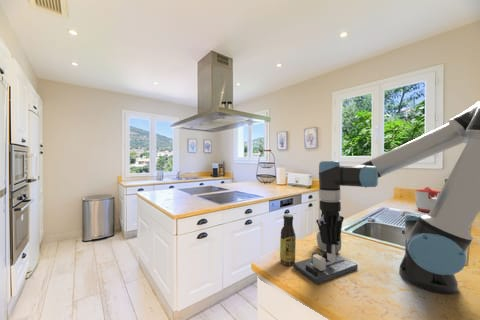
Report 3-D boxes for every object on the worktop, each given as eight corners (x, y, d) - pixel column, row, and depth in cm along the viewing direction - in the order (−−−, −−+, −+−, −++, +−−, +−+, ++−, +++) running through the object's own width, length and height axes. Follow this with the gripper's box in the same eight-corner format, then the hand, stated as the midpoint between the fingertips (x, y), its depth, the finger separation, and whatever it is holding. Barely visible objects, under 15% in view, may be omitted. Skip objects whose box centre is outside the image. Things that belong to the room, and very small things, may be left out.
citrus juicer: (422, 213, 158) (422, 188, 158) (411, 208, 174) (411, 185, 174) (447, 215, 153) (447, 188, 153) (433, 209, 170) (433, 186, 170)
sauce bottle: (286, 268, 80) (286, 218, 80) (277, 261, 86) (276, 214, 86) (299, 264, 83) (298, 216, 83) (288, 257, 89) (288, 212, 89)
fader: (325, 269, 75) (325, 258, 75) (321, 271, 74) (321, 260, 74) (317, 264, 78) (317, 254, 78) (312, 266, 77) (312, 255, 77)
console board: (357, 269, 79) (357, 257, 79) (316, 284, 69) (316, 271, 69) (331, 256, 90) (331, 246, 90) (293, 268, 80) (293, 257, 80)
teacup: (344, 257, 89) (344, 239, 89) (318, 255, 91) (318, 237, 91) (336, 244, 102) (336, 228, 102) (313, 242, 104) (313, 227, 104)
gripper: (333, 197, 85) (334, 253, 85) (310, 200, 79) (311, 260, 79) (349, 200, 78) (351, 261, 78) (326, 203, 72) (327, 269, 72)
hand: (331, 260), depth 78 cm, fingers closed
